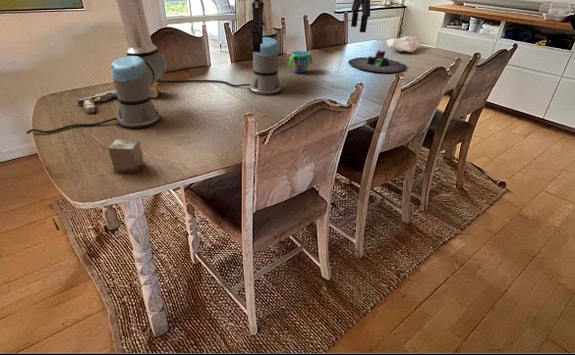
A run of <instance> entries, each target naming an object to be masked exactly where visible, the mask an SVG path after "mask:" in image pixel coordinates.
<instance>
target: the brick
mask: <svg viewBox="0 0 575 355" xmlns="http://www.w3.org/2000/svg"><path fill="white" fill-rule="evenodd" d="M108 152H109V156H110V160H111V163H112V168H113V172H114V173H123V174H124V173H126V174H138V173H139V172H140V170H141V169H142V168H143V166H144V165H145V161H144V156H143V152H142V147H141V142H140V139H120V138H117V139H115V140H114V141H113V142H112V143H111V144H110V146H108Z"/></svg>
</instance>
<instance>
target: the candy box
mask: <svg viewBox="0 0 575 355" xmlns="http://www.w3.org/2000/svg"><path fill="white" fill-rule="evenodd" d="M149 90H150V96H151V99H152V98H153V99H154V98H158V96H159V91H160V90H159V84H158V81H157V82H155V83H154V84H152V85H151V86H150V87H149Z"/></svg>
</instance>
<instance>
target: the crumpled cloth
mask: <svg viewBox="0 0 575 355" xmlns="http://www.w3.org/2000/svg"><path fill="white" fill-rule="evenodd" d="M385 42H386V43H387V44H386V46H387V47H388V48H389V49H390V50H395V51H398V52H400V53H404V52H408V53H413V52H415V51H416V50H417V49H418V48H419V47H420V46H421V44H422V40H420V39H419V38H418V37H415V36H409V35H406V36H402V37H401V36H400V38H398V37H397V38H396V37H395V38H390V39H386V40H385Z"/></svg>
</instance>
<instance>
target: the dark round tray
mask: <svg viewBox="0 0 575 355" xmlns="http://www.w3.org/2000/svg"><path fill="white" fill-rule="evenodd" d="M385 55H386V51H385V50H380V49H378V50H377V52H376V53H375V55H374V56H371V55H369V56H368V57H365V56H364V57H362V56H360V57H355V58H351V59H349V60H348V61H347V63H348V64H349V65H350V66H352V67H354V68H356V69H358V70H364V71H369V72H376V73H385V74H386V73H399V72H402V71H404V70H406V68H407V65H406V64H404V63H402V62H401V63H400V62H399V61H395V60H392V59H389V58H388V57H385Z"/></svg>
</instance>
